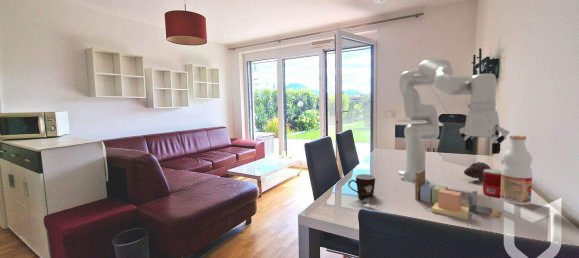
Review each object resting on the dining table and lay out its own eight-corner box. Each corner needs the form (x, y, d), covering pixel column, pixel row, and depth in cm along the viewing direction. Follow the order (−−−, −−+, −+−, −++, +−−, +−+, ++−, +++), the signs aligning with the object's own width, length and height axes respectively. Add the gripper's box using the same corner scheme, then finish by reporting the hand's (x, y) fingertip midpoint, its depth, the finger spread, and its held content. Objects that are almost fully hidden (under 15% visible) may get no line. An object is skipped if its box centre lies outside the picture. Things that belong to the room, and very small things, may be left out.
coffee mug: (375, 195, 121) (375, 174, 120) (375, 202, 112) (375, 179, 112) (350, 193, 124) (349, 173, 124) (348, 199, 116) (347, 178, 115)
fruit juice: (495, 199, 112) (498, 134, 109) (522, 200, 109) (525, 134, 107) (506, 207, 103) (509, 137, 101) (536, 209, 100) (539, 137, 98)
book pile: (426, 214, 98) (426, 206, 98) (434, 207, 105) (434, 200, 104) (466, 224, 89) (467, 216, 89) (472, 216, 95) (473, 208, 95)
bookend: (468, 211, 97) (469, 195, 96) (472, 205, 102) (473, 190, 101) (488, 215, 92) (489, 199, 92) (492, 209, 97) (492, 194, 97)
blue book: (420, 200, 109) (420, 186, 109) (425, 196, 114) (425, 182, 113) (430, 202, 107) (430, 188, 106) (435, 198, 111) (435, 184, 111)
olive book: (431, 202, 106) (431, 188, 106) (436, 198, 111) (437, 184, 110) (442, 205, 103) (442, 190, 103) (447, 200, 108) (447, 186, 107)
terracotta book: (458, 211, 93) (458, 195, 93) (438, 207, 98) (438, 191, 97) (461, 208, 96) (461, 192, 95) (441, 204, 100) (441, 189, 100)
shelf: (415, 202, 110) (415, 173, 109) (422, 198, 116) (422, 169, 115) (499, 222, 90) (500, 186, 89) (502, 215, 96) (503, 181, 95)
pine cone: (469, 183, 134) (469, 164, 133) (457, 178, 144) (457, 160, 143) (503, 182, 134) (504, 163, 133) (489, 177, 144) (489, 159, 143)
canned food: (509, 198, 113) (510, 173, 112) (488, 197, 114) (489, 172, 113) (498, 192, 120) (499, 169, 119) (479, 191, 122) (480, 168, 121)
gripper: (453, 107, 105) (453, 149, 106) (502, 106, 89) (500, 156, 90) (466, 107, 107) (466, 148, 108) (515, 106, 91) (514, 154, 92)
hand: (481, 151), depth 99 cm, fingers open, 9 cm apart
